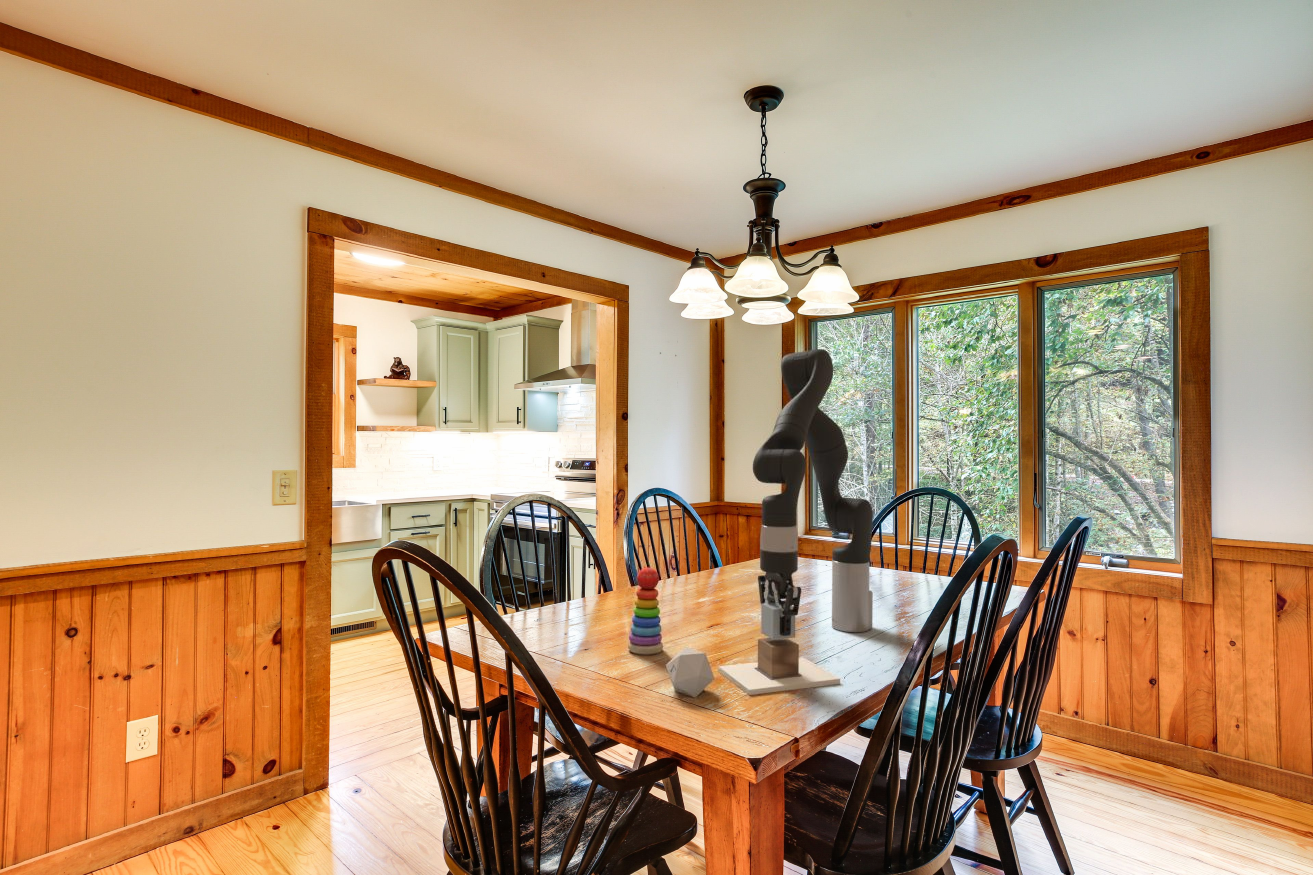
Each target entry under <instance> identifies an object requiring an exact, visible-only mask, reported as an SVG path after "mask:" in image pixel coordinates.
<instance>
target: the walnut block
mask: <svg viewBox="0 0 1313 875" xmlns="http://www.w3.org/2000/svg"><path fill="white" fill-rule="evenodd" d="M799 658H800V645H799V643H797V642H795V641H793V640H791V639H790V638H786V639H776V640H772V639H771V638H769V637H765V638H758V639H757V662H758V669H760V670H761V671H763V672H764V673H765V674H767V675H768V676H770V677H771V678H775V677H783V676H792V675H799Z"/></svg>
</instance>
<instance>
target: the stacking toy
mask: <svg viewBox="0 0 1313 875" xmlns="http://www.w3.org/2000/svg"><path fill="white" fill-rule="evenodd" d="M659 580H660V576H659V573H658V571H656V570H655V569H654V568H652V567H644V568H641V569H640V570H639V571H638V573H637V575H636V582H637V584H638V586H639V587H640V588H638V589H637V590H636V592H635V594H636V597H637V598H635V600H634V605H635V607H634V608H633V613H634V615H633V616H632V619H631V621H632V625H631V626H630V633H629V635H628V640H629V642H628V644H627V649H628V650H629V651H630V652H631V653H633V654H637V655H643V656H645V655H646V656H647V655H655V654H659V653H660V652H661V651H662V650H663V648H664V644H663V642H662V639H663V636H662V634H661V633H662V630H663V628H662V626H661V624H660V623H661V617H660V614H661V610H660V607H659V603H660V602H659V599H658V596H659V591H658V589H656V587H657V586H658V584H659V583H660V582H659Z"/></svg>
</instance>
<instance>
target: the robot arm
mask: <svg viewBox="0 0 1313 875" xmlns="http://www.w3.org/2000/svg"><path fill="white" fill-rule="evenodd" d="M780 368H781V369H780V371H781V376H782V380H783V383H784V386H785V388H786V391H787V394H788V396H789V399H790V401H789V402H788V403H787V404H786V405H785V406H784V407H783V408H782V409H781V411H780V413H778V416H777V418H776V421H775V424H774V426H773V430H772V433H771V434H770V435H769V437H767V438H766V440H765V442H764V443H763V444H762V445H761V446H760V448H759V449H758V450H757V451H756V454H755V456H754V458H753V462H752V472H753V474H754V477H755V479H756V480H757V481H759V482H760V483H764V484H775V485H777V484H778V485H779V484H780V485H781V484H782V485H785V487H784V490H782V492H781V493H778V494H771V495H766V496H764V497H763V498H762V501H761V502H762V503H761V527H760V528H761V529H760V539H759V540H760V541H759V542H760V543H759V546H760V547H759V550H760V551H759V560H760V561H759V569H760V570H761V571H762V572H764V573H765V574H763V575H758V576H757V584H758V593H759V600H760V601H759V602H760V605H761V604H763V603H776V605H778V607H779V614H780V635H782V636H788V635H790V634H791V617H792V616H794V615H795V616H798V614H799V608H800V603H801V596H802V588H801V586H795V585H794V581H793V574H794V573H796V572H797V571H798V569H799V567H798V566H799V563H798V561H799V555H798V554H799V534H798V528H797V527H798V526H797V524H798V523H797V522H798V521H797V520H798V514H797V512H798V501H799V497H800V493H801V492H800V491H801V488H802V484H803V481H804V478H805V476H806V470H807V460H806V457H805V455H804V453H803V452H802V450H803V448H804V446H806V450H807V453H808V455H809V459H810V461H811V465H812V468H813V471H814V474H815V477H816V480H817V484H818V490H819V492H820V498H821V502H822V508H823V512H824V517H825V520H826V525H827V526H828V528H829V529H830V530H831V531H832V532H834V533H838V534H846V535H852V536H851V540H850V542H849V543H848V544H845V545H841V546H837V547H834V549H832V555H831V556H832V560H831V561H832V562H831V563H832V564H831V565H832V567H831V568H832V569H831V581H832V582H831V588H832V589H831V627H832V628H833V629H835V630H837V631H841V632H849V633H863V632H867V631H869V630H872V629H873V617H874V616H873V613H874V612H873V610H874V609H873V607H874V605H873V604H874V603H873V600H874V599H873V596H874V595H873V593H874V592H873V591H872V590H870V560H871V559H870V558H871V550H872V535H873V534H872V533H873V520H874V519H873V507H872V505H871V502H870V501H869V500H867V499H866V498H855V497H853V498H852V497H843V496H842V495H841V492H840V488H839V487H840V486H839V482H840V479H841V477H842V475H843V472H844V470H845V469H846V466H847V463H848V459H849V451H848V447H847V443H846V440H845V435H844V433H843V430H842V428H841V426H839V425H838V424H837V422H835V421H834V420H833V419H832V418H831V417H829V415H828V414H826V413H825V412H824V411H823V410H822V409H820V405H821V403H822V401H823V400H824V398H825V396H826V394H827V392H828V390H829V388H830V386H831V384H832V381H833V378H834V363H833V360H832V357H831V355H830V353H829V352H828V351H827V350H825V349H823V348H822V349H821V348H820V349H819V348H817V349H816V348H815V349H810V350H809V349H808V350H804V351H803V350H802V351H797V352H792V353H788V354H786V355H784V356H783V357H782V359H781V364H780ZM783 605H785V609H784V607H783ZM792 606H793V609H792Z"/></svg>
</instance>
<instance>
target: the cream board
mask: <svg viewBox="0 0 1313 875" xmlns="http://www.w3.org/2000/svg"><path fill="white" fill-rule="evenodd" d="M717 669H718V672H719V673H720V674H721V675H722V676H724V677H725V678H727V679H728V680H729V681H730V682H731V683H733V685H735V686H737V687H738V688H739V689H741V690H742V691H743V692H744V693H746V694H747V695H748V696H752V695H753V696H754V695H760V694H761V695H762V694H767V693H768V694H769V693H777V692H785V691H786V692H787V691H792V690H801V689H808V688H816V687H824V686H825V687H827V686H831V685H838V684H839V685H840V684H841V678H840V677H838V676H836V674H833V673H831V672H830V671H828V670H826V669H824V668H822V666H818V665H817V664H815V663H813V661H810V660H808V659H807V658H805V657H800V656H799V675H792V676H783V677H775V678H771V677H770V676H768V675H767V674H765V673H764V672H763V671H761V670H760V669H758V661H756V662H747V663H746V662H745V663H738V664H729V665H728V664H727V665H721V666H718V668H717Z"/></svg>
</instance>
